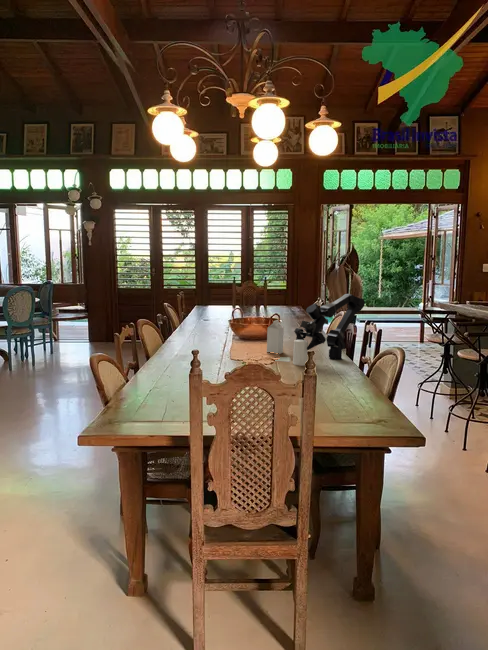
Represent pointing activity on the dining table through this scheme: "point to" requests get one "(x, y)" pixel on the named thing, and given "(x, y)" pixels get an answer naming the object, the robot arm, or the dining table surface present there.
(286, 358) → the mat
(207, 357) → the dining table surface
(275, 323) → the milk carton
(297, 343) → the white cylinder
